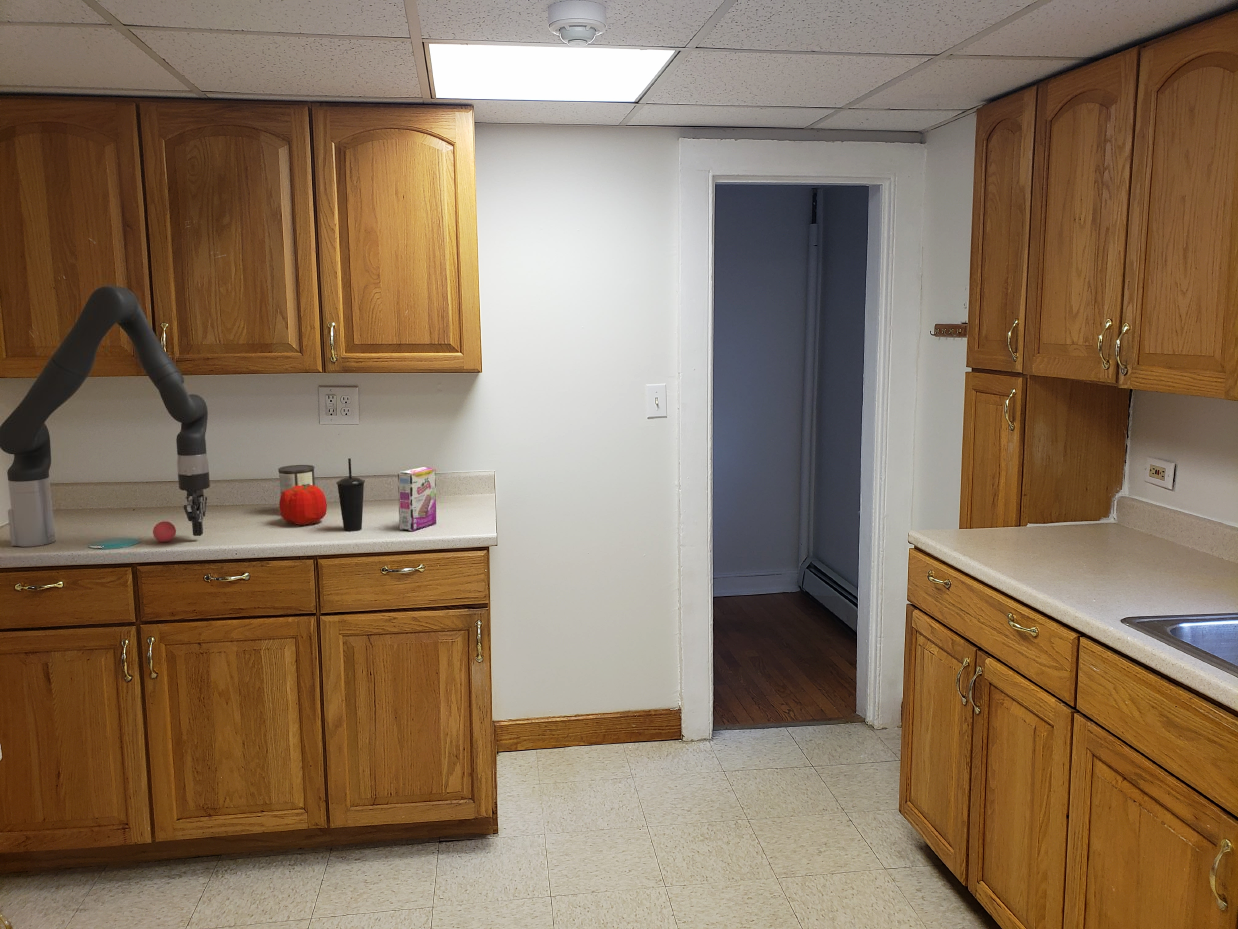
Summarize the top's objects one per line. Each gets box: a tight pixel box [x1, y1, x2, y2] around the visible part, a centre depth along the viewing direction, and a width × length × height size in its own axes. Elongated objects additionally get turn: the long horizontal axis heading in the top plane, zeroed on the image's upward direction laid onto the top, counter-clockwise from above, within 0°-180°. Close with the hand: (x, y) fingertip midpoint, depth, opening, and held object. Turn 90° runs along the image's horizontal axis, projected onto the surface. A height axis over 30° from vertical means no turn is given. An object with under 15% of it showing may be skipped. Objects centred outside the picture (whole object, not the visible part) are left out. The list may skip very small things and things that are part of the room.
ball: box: [152, 520, 177, 543], centre depth 250 cm, size 6×6×6 cm
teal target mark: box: [88, 537, 141, 550], centre depth 249 cm, size 12×12×1 cm
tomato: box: [278, 485, 328, 526], centre depth 272 cm, size 14×13×10 cm
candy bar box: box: [397, 466, 437, 532], centre depth 266 cm, size 11×5×16 cm, turn 154°
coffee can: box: [277, 464, 316, 496], centre depth 285 cm, size 10×10×14 cm
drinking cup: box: [335, 457, 366, 532], centre depth 263 cm, size 8×8×20 cm
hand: (198, 535), depth 252 cm, fingers closed
